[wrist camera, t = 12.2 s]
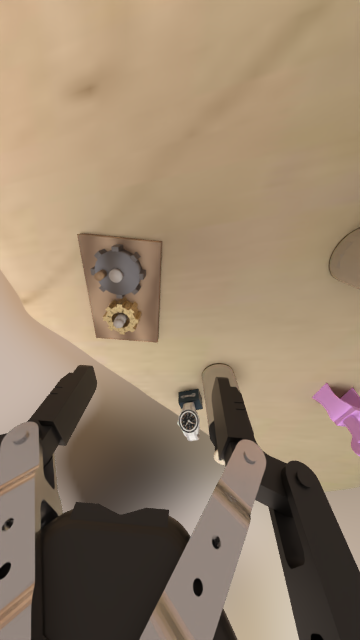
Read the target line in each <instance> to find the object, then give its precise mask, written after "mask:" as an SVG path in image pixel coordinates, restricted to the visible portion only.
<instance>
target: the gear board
mask: <svg viewBox="0 0 360 640" xmlns="http://www.w3.org/2000/svg"><path fill="white" fill-rule="evenodd" d="M77 235H78V241H79V246H80V252H81V257H82V263H83V268H84V273H85V279H86V284H87V290H88V295H89V301H90V306H91V311H92V317H93V322H94V328H95V333H96V338H106V339H119V340H132V341H145V342H158V329H159V302H160V275H161V248H162V242H161V241H152V240H142V239H132V238H122V237H112V236H102V235H93V234H83V233H82V234H77ZM123 297H125V298H127V300H128V301H130V302H132V303H133V302H134V301H135V302H136V303H137V304H138V306H137V309H138V310H139V312H141V314H142V316H141V318H140V321H139V323H138V325H137V327H136V330H135V331H133V332H131V331H128V332H125V334H124V335H123V334H120V333H119V332H118V331H116V330H114V329H113V330H112V331H111V330H110V329H108V327H109V325H108V323H107V322H106V321H103V316H104V314H105V313H106V312H107V311H106V310H105V309H106V308H107V307H108V305H109V304H110V303H111V302H112V301H113V300H115V301H116V302H117V301H119V300H120V299H123ZM117 314H118V315H117V317H116V318H115V320H114V322H113V325H114V326H115V327H116V328H121V327H123V325H124V323H125V322H126V320H128V319H129V317H128V316H127V315H126V314H124V313H121V312H117Z"/></svg>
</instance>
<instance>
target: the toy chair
mask: <svg viewBox="0 0 360 640" xmlns="http://www.w3.org/2000/svg"><path fill="white" fill-rule="evenodd" d="M312 398H313V399H315V400H316V401H318V402H319V403H320V404H322V405H323V406H324V408H325V409H326V411H327V412H328V414H329V416H330V418H331V420H332V421H334V422H335V424H336V425H338V426H346V427H347V428H348V430H349V431H350V433H351V434H352V441H351V447H352V449H353V451H354V452H355V453H356V454H357V455H359V456H360V397H359V396H358V394H357V393H356V391H355V390H354V388H351V389H350V390H349V391H348V392H347V393H346V394H345V395H343V396H342V397H341V398H338V397H337V396H336V395H335V394H334V393H333V391H332V390H331V388H330V387H329V385H328V383H326V384H325V385H324V386H323V387H322V388H321V389H320V390H319V391H318V392H317V393H316V394H315V395H314V396H313V397H312Z"/></svg>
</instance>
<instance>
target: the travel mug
mask: <svg viewBox="0 0 360 640" xmlns="http://www.w3.org/2000/svg"><path fill="white" fill-rule="evenodd" d="M216 377H227V378H228V379H229V383H230V386H231V387H237V389H238V390H239V387H238V384H237V381H236V378H235V375H234V372H233V370H232V369H231V368H230V367H229V366H227V365H224V364H215V365H212V366H209V367H208V368H206V369H205V370H204V372H203V374H202V380H203V387H204V395H205V403H206V411H207V419H208V427H209V434H210V439H211V441H212V443H213V444H214V446H215V453H214V459H215V461H216V462H218V463H219V464H221V465H225V460H222V459H219V456H218V448H217V440H216V432H215V424H214V416H213V408H212V390H213V386H214V382H215V378H216ZM239 392H240V390H239ZM247 415H248V414H247ZM248 418H249V417H248ZM249 421H250V420H249ZM250 425H251V424H250ZM251 428H252V427H251ZM252 432H253V430H252ZM253 435H254V433H253Z"/></svg>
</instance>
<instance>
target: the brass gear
mask: <svg viewBox="0 0 360 640" xmlns="http://www.w3.org/2000/svg"><path fill="white" fill-rule="evenodd" d="M137 306H138V304H137V303H136V302H135V301H134V302H133V303H132V302H130V301H128V300H127V298H125V297H123V299H120V300H119V301H117V302H116V301H115V300H113V301H112V302H111V303H110V304H109V305H108V307H107V308H106V309H105V310H106V311H107V312H106V313H105V314H104V316H103V321H106V322H107V323H108V325H109V327H108V329H110V330H111V331H112V330H113V329H114V330H116V331H118V332H119V333H120V334H123V335H124V334H125V332H128V331H131V332H133V331H135V330H136V327H137V325H138V323H139V321H140V318H141V316H142V314H141V312H139V310H138V309H137ZM117 312H121V313H124V314H126V315H127V316H128V317H129V319H128V320H126V322H125V323H124V325H123V327H121V328H116V327H115V326H114V325H113V322H114V320H115V318H116V317H117V315H118V314H117Z"/></svg>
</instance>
